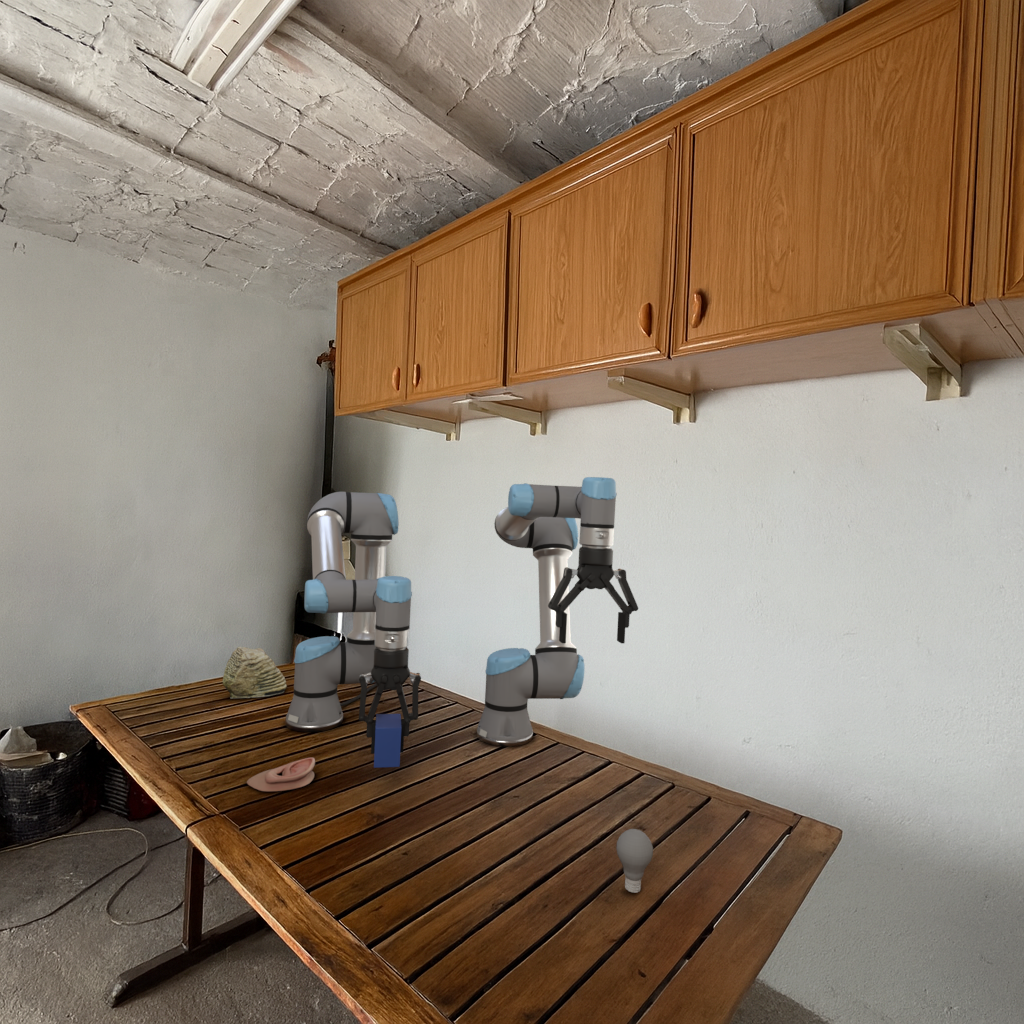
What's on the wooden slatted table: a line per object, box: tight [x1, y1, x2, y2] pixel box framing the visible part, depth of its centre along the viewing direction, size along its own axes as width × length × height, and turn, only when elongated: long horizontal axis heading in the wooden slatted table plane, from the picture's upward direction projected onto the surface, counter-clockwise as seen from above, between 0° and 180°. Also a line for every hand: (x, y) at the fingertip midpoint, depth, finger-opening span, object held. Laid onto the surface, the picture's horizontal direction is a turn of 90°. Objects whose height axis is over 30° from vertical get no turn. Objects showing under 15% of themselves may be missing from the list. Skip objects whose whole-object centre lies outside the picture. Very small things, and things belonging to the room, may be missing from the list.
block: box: [373, 713, 402, 769], centre depth 140 cm, size 8×6×9 cm, turn 11°
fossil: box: [222, 646, 288, 699], centre depth 198 cm, size 9×18×15 cm, turn 132°
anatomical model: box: [246, 757, 316, 792], centre depth 140 cm, size 13×4×12 cm
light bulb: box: [615, 828, 654, 894], centre depth 106 cm, size 6×6×10 cm
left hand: (387, 750), depth 141 cm, fingers closed on block, 5 cm apart
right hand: (591, 642), depth 141 cm, fingers open, 13 cm apart
